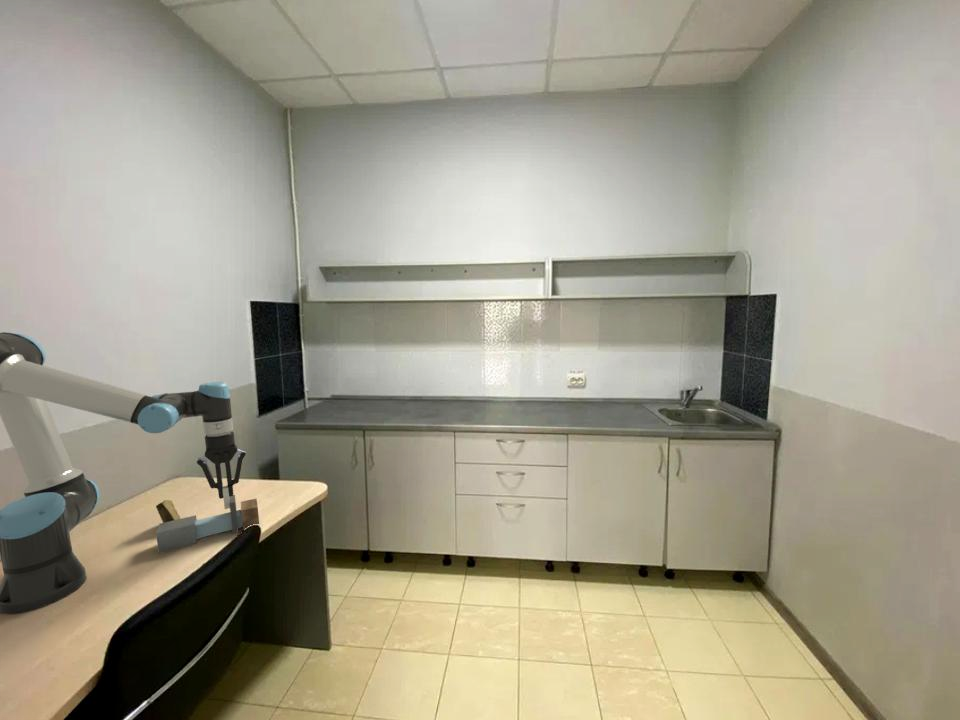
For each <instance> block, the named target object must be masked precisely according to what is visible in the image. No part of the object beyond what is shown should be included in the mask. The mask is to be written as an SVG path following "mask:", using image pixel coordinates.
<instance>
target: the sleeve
mask: <svg viewBox="0 0 960 720" xmlns="http://www.w3.org/2000/svg"><path fill="white" fill-rule="evenodd" d="M196 520H198V519H197V514H196V515H190V516H187V517H183V518H180V519H178V520H173V521H169V522H165V523H163V522H162V523H159V524H158V526H157V529H156V532H155V536H156V543H157V550H158V555H159V554H163V553H166V552H167V553H168V552H171V551H174V550H175V551H176V550H178V549H182V548H186V547H189V546H190V547H191V546H193V545H194V546H195V545H197V544H198V539H199V538H197V539H196V530H195V521H196Z"/></svg>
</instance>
